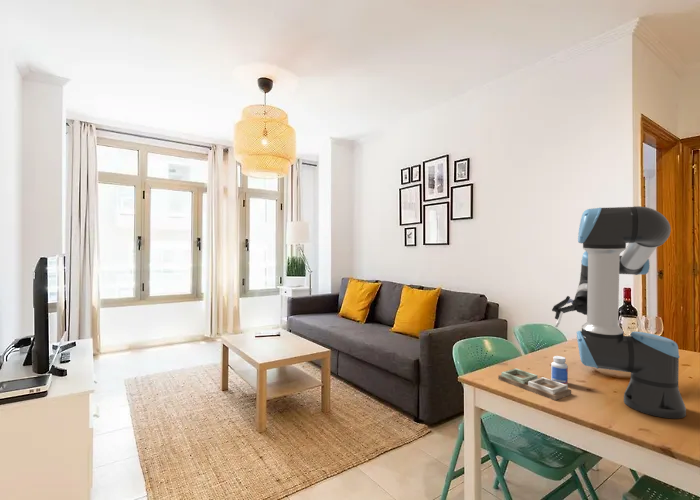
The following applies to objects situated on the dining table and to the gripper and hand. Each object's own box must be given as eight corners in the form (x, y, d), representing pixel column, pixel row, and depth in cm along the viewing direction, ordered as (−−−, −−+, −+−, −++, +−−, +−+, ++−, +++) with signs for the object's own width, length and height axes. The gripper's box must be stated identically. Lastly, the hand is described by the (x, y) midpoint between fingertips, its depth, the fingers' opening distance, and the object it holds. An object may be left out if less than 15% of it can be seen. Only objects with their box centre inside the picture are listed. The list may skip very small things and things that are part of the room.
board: (571, 394, 124) (571, 385, 124) (555, 400, 119) (555, 391, 119) (514, 374, 143) (514, 367, 143) (498, 379, 138) (498, 371, 138)
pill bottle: (570, 386, 131) (570, 360, 131) (554, 385, 132) (554, 359, 132) (564, 381, 137) (564, 355, 137) (549, 379, 138) (549, 354, 138)
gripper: (616, 315, 146) (609, 353, 134) (551, 290, 157) (539, 324, 145) (625, 303, 141) (618, 343, 129) (557, 279, 152) (545, 313, 140)
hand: (576, 333), depth 137 cm, fingers open, 13 cm apart
